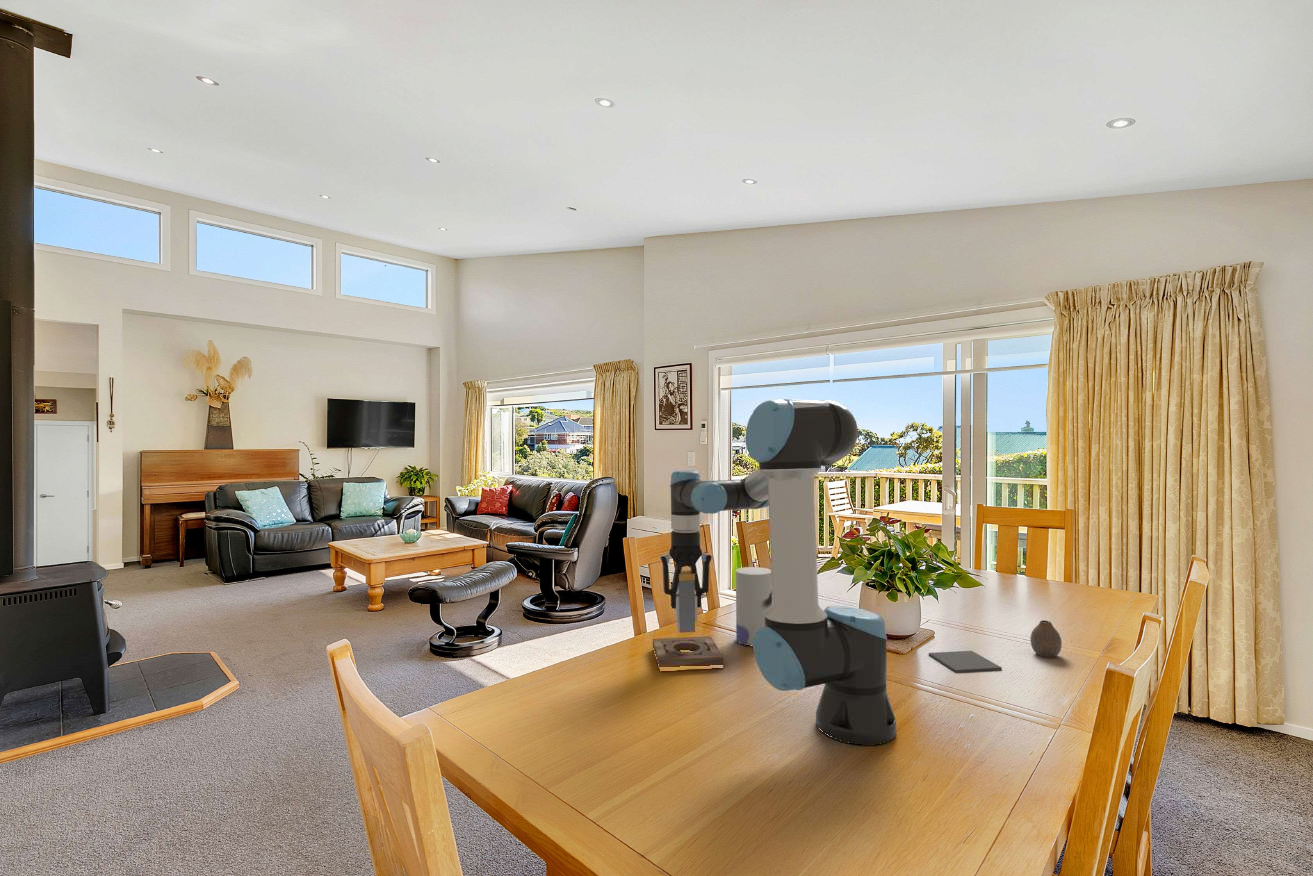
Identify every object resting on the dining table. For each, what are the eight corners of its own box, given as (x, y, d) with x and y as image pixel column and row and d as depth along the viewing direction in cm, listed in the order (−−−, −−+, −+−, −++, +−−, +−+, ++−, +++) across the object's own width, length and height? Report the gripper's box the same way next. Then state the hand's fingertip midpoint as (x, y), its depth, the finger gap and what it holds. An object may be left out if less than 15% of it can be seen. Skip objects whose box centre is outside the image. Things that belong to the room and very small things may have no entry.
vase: (1052, 650, 166) (1052, 617, 166) (1067, 660, 159) (1067, 625, 159) (1025, 650, 167) (1025, 617, 167) (1038, 659, 160) (1038, 625, 160)
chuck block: (723, 668, 155) (723, 656, 155) (659, 672, 154) (659, 659, 154) (710, 647, 171) (710, 636, 171) (652, 649, 169) (652, 638, 169)
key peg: (695, 632, 161) (694, 573, 161) (679, 632, 160) (679, 574, 160) (692, 627, 165) (692, 570, 165) (677, 627, 164) (676, 570, 164)
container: (775, 647, 171) (774, 574, 170) (738, 647, 171) (737, 574, 171) (769, 635, 181) (768, 566, 180) (734, 635, 181) (734, 566, 181)
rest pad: (1001, 669, 153) (1001, 667, 153) (955, 672, 152) (955, 669, 152) (971, 653, 165) (971, 650, 165) (928, 655, 163) (928, 652, 163)
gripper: (714, 527, 167) (715, 614, 167) (651, 528, 165) (651, 617, 165) (720, 531, 159) (721, 623, 160) (654, 533, 158) (654, 626, 158)
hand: (686, 620), depth 162 cm, fingers closed on key peg, 4 cm apart
